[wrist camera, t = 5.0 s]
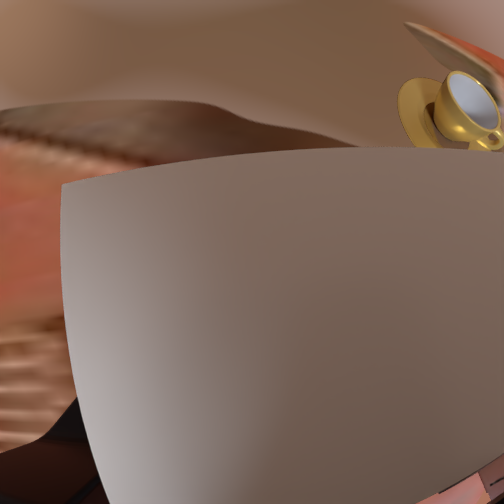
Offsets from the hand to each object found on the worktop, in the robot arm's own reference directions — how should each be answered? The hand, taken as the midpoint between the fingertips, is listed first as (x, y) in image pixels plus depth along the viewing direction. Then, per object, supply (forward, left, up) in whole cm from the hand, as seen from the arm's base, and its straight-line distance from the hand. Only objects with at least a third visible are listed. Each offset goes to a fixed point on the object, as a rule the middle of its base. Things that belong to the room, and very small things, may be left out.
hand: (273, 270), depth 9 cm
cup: (+21, -13, -13) cm, 28 cm away
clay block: (-1, -1, -7) cm, 7 cm away
